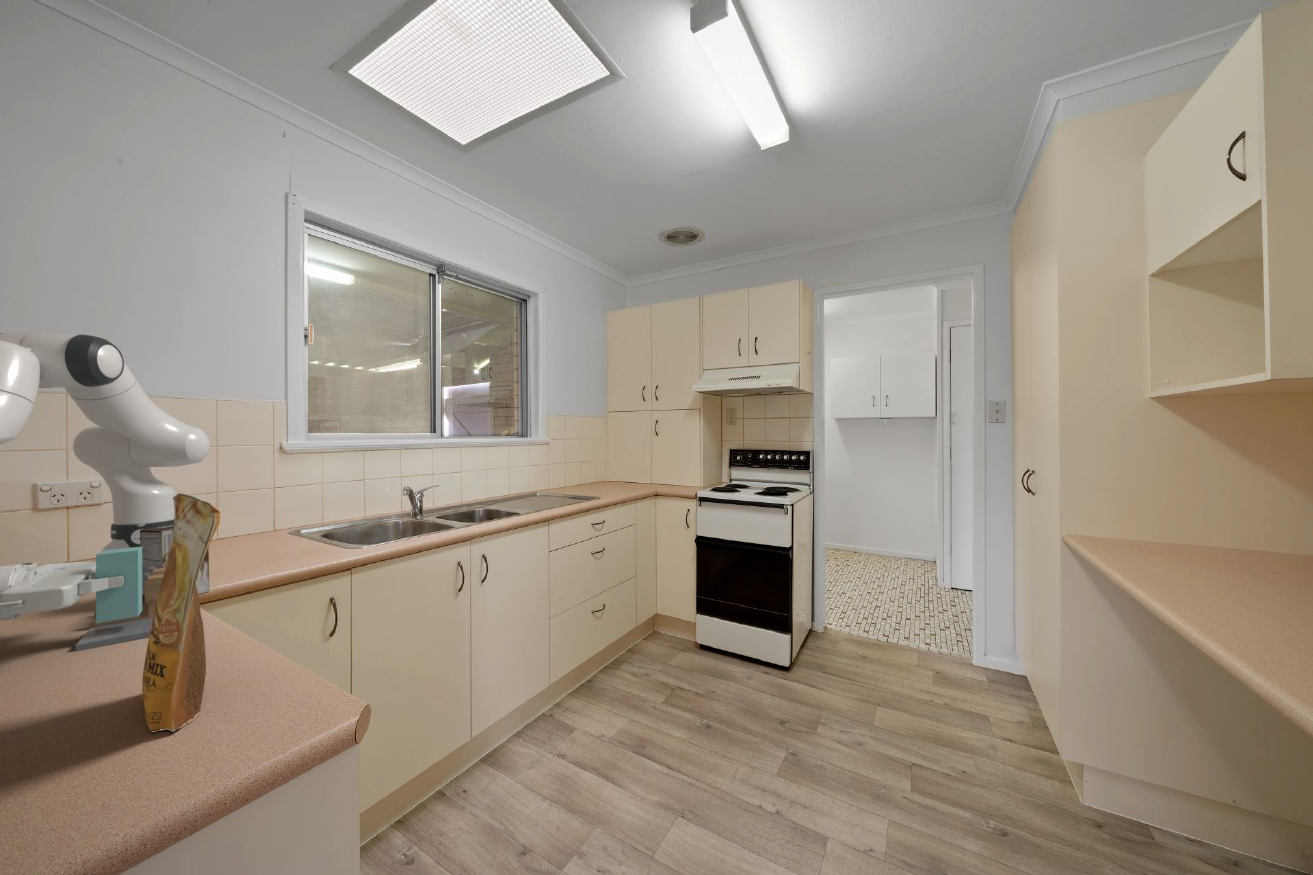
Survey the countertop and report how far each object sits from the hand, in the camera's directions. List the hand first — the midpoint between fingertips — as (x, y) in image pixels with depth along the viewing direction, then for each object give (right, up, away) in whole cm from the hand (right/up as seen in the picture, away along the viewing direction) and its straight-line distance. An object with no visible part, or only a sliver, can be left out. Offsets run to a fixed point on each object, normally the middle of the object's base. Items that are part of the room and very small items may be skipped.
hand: (127, 576), depth 87 cm
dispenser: (-7, -10, +10) cm, 16 cm away
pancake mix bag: (+32, -11, -23) cm, 41 cm away
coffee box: (-11, -11, +20) cm, 25 cm away
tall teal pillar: (-1, -7, -1) cm, 7 cm away
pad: (-1, -11, 0) cm, 11 cm away
